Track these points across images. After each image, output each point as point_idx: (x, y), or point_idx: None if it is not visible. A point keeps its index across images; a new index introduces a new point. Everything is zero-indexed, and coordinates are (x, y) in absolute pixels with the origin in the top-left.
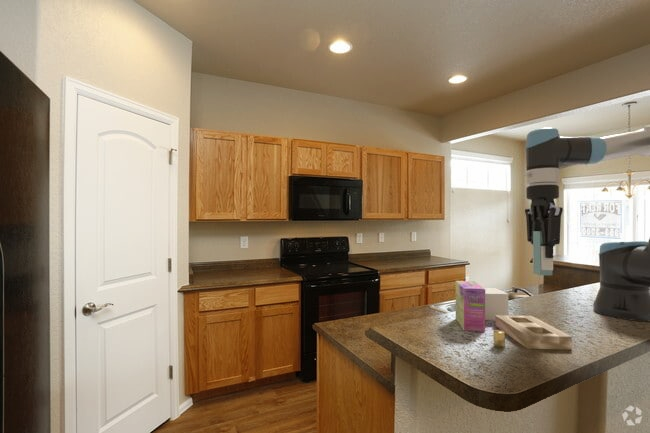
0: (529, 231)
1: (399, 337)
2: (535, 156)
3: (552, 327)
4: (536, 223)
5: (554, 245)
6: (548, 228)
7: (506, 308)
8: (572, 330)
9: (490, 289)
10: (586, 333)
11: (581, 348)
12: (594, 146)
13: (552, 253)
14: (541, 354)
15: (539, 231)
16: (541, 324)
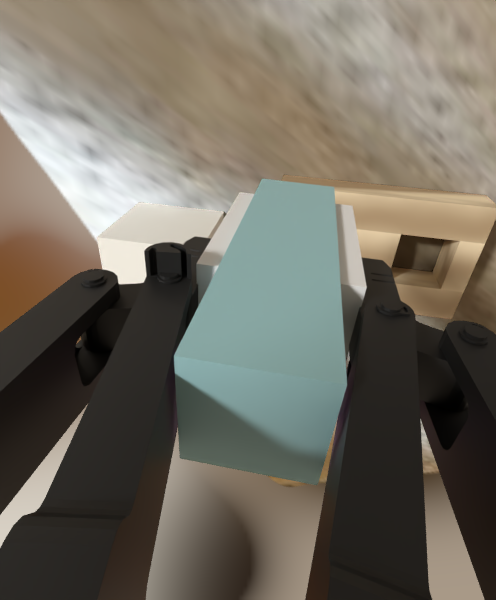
0: (72, 417)
1: (326, 468)
2: None
3: (409, 203)
4: (149, 544)
5: (404, 306)
6: (481, 552)
7: (213, 233)
8: (339, 44)
9: (126, 270)
10: (378, 7)
11: (489, 158)
12: None
13: (391, 285)
14: (482, 292)
15: (267, 459)
16: (374, 217)
